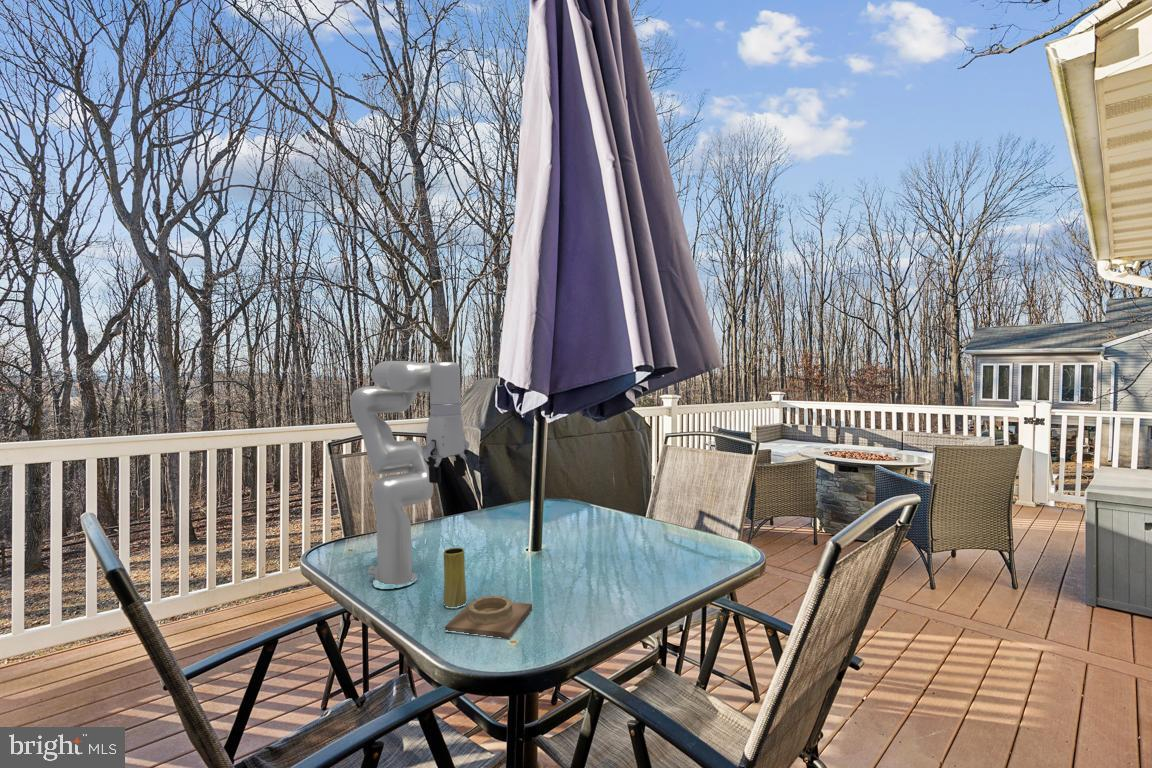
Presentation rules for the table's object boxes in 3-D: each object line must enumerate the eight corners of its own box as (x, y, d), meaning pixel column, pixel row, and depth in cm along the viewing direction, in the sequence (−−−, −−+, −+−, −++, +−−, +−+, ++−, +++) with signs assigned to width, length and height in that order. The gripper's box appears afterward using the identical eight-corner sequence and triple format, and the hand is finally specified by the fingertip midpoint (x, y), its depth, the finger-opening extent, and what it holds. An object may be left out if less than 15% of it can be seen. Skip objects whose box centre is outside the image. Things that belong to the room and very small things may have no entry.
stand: (445, 632, 125) (444, 615, 125) (474, 604, 141) (474, 589, 141) (509, 639, 121) (508, 621, 121) (532, 609, 137) (531, 594, 137)
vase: (438, 606, 140) (437, 552, 140) (455, 598, 145) (454, 545, 145) (454, 611, 137) (453, 555, 137) (472, 603, 142) (470, 549, 142)
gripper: (455, 409, 144) (456, 473, 144) (410, 413, 128) (412, 484, 128) (478, 409, 141) (480, 474, 141) (435, 413, 125) (437, 486, 125)
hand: (447, 479), depth 134 cm, fingers open, 9 cm apart
